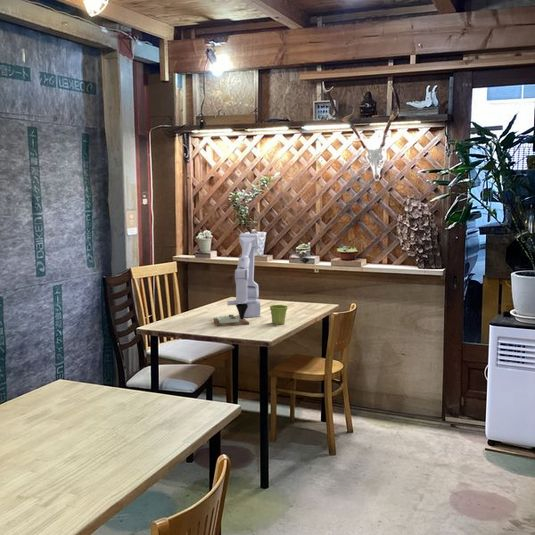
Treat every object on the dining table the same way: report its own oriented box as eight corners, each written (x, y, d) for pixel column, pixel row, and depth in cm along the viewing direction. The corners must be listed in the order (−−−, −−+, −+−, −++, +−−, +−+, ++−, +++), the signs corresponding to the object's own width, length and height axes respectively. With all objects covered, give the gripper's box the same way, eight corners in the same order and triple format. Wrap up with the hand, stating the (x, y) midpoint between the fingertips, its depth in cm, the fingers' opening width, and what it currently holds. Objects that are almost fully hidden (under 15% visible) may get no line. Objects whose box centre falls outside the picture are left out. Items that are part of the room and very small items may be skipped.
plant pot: (290, 322, 311) (290, 305, 310) (283, 326, 303) (283, 308, 302) (273, 320, 315) (274, 304, 314) (266, 324, 307) (266, 307, 306)
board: (244, 320, 314) (244, 313, 314) (249, 324, 306) (249, 316, 305) (213, 322, 310) (213, 315, 309) (217, 326, 301) (217, 318, 301)
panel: (234, 319, 312) (234, 315, 312) (239, 322, 305) (239, 318, 304) (215, 320, 309) (215, 316, 309) (219, 323, 302) (219, 319, 301)
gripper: (229, 293, 302) (229, 321, 303) (257, 292, 306) (257, 319, 307) (226, 291, 308) (226, 318, 310) (254, 290, 313) (253, 316, 314)
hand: (241, 318), depth 309 cm, fingers closed
